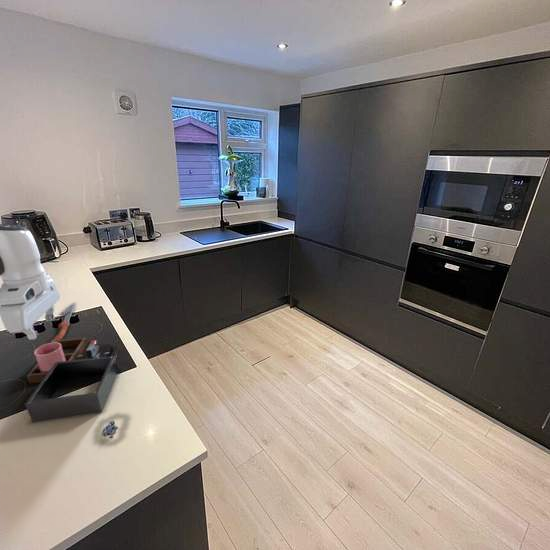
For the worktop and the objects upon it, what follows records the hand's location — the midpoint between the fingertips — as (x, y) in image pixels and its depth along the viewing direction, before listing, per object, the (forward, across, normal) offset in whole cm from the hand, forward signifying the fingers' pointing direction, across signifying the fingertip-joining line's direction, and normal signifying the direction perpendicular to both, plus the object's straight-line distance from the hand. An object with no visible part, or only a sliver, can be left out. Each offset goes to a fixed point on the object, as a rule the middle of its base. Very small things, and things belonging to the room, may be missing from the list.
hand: (42, 328), depth 82 cm
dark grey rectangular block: (+13, -3, +10) cm, 16 cm away
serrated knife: (+16, -31, -10) cm, 36 cm away
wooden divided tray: (+16, -4, 0) cm, 16 cm away
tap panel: (+16, -3, +10) cm, 19 cm away
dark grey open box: (+16, +12, +10) cm, 22 cm away
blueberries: (+16, +26, +22) cm, 38 cm away
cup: (+16, 0, 0) cm, 16 cm away
